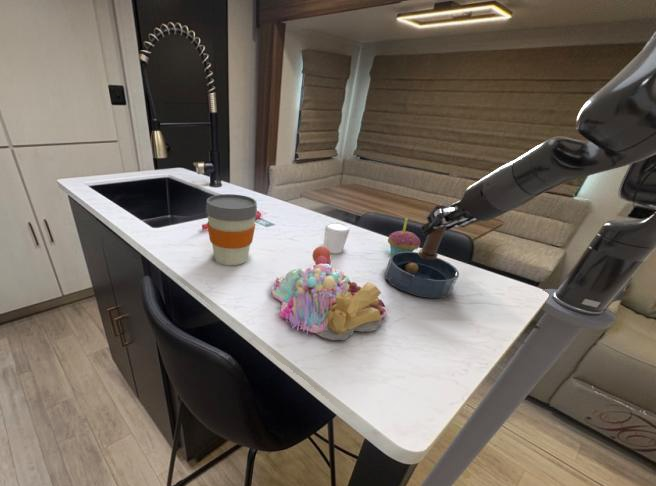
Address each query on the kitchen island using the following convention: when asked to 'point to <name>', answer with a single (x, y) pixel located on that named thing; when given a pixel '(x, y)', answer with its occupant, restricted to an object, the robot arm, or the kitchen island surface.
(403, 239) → the cupcake
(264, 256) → the kitchen island surface
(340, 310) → the multicoloured low lumpy mound
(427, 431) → the kitchen island surface
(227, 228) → the reusable coffee cup
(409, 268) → the bead
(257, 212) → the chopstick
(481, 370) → the kitchen island surface
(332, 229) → the white short cylinder
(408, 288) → the bowl
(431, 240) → the brown flared cylinder
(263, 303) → the kitchen island surface
